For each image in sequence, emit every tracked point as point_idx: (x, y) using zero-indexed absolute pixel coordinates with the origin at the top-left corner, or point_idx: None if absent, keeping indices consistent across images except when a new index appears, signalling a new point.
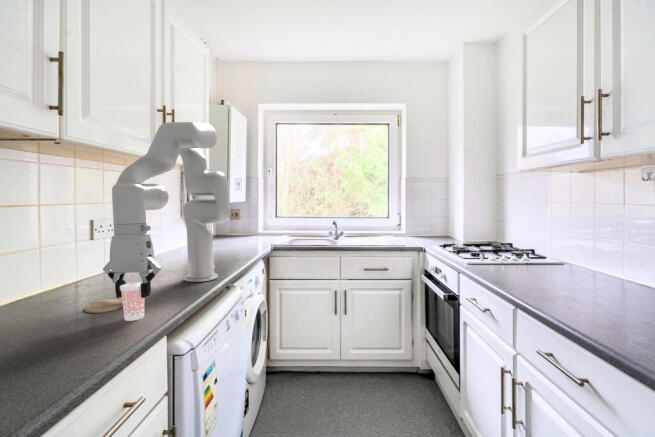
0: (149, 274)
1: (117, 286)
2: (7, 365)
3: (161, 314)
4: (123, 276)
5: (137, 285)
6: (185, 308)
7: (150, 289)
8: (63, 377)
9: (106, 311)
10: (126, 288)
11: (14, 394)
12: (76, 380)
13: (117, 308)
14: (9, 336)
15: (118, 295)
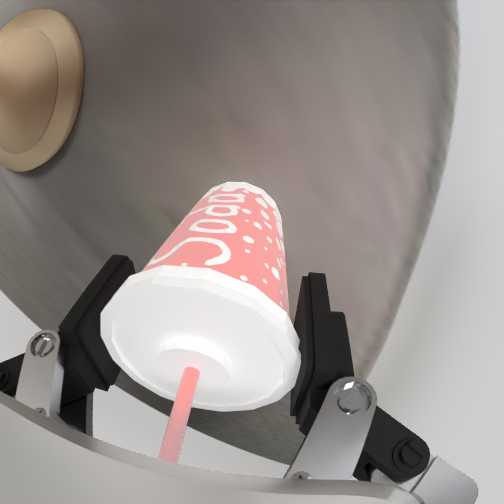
0: (368, 479)
1: (115, 373)
2: (165, 414)
3: (358, 183)
4: (61, 380)
5: (234, 365)
6: (449, 103)
7: (345, 329)
8: (283, 441)
9: (58, 150)
10: (207, 406)
11: (252, 450)
12: None
13: (74, 112)
14: (33, 319)
15: None
